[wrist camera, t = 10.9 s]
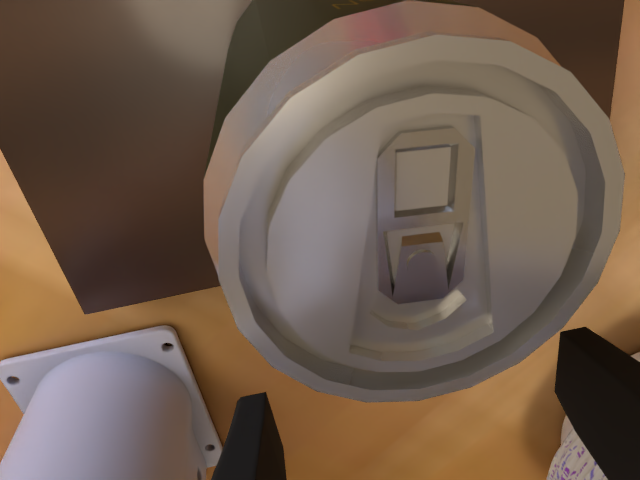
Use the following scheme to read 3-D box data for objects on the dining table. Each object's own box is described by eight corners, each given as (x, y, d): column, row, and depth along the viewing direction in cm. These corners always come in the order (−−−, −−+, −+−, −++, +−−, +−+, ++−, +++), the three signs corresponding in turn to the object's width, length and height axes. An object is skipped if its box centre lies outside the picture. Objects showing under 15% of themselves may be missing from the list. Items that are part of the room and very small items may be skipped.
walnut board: (572, 186, 22) (599, 205, 21) (97, 286, 22) (84, 315, 20) (614, -280, 15) (663, -312, 13) (-110, -147, 14) (-159, -161, 12)
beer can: (214, -21, 15) (143, 32, 5) (394, -35, 15) (705, -15, 5) (240, 153, 18) (232, 438, 7) (392, 138, 18) (593, 386, 8)
